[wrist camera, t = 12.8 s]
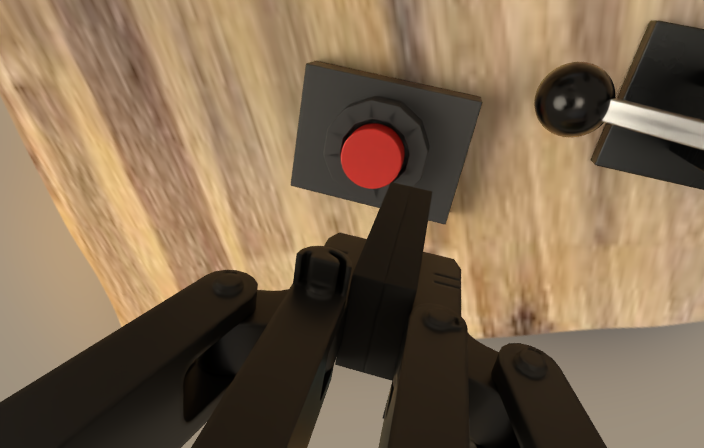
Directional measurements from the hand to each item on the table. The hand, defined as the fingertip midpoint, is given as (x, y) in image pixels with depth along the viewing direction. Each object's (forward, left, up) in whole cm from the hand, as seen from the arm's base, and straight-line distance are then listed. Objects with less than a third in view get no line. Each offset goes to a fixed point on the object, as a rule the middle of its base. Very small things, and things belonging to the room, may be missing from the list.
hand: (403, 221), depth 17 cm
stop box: (-2, -3, -18) cm, 19 cm away
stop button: (-2, -3, -15) cm, 15 cm away
